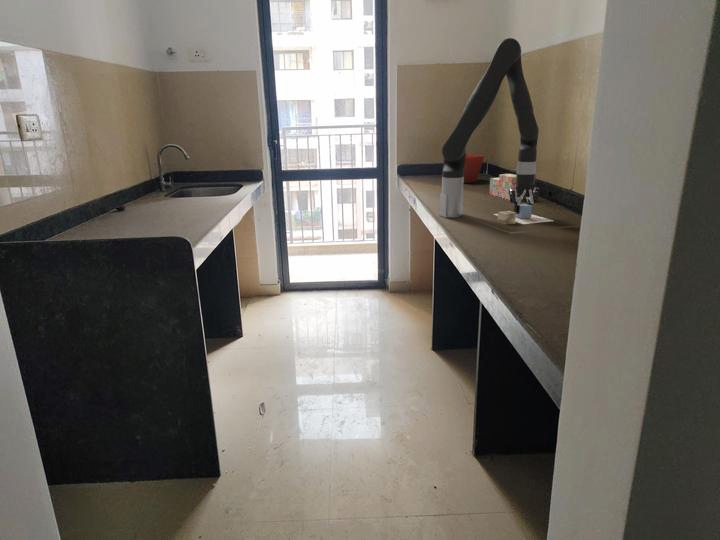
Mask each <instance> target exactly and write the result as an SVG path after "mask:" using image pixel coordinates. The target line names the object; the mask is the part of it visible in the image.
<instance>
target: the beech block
mask: <svg viewBox="0 0 720 540" xmlns="http://www.w3.org/2000/svg"><path fill="white" fill-rule="evenodd" d="M497 214H498V216H497V221H496V222H497V223H499V224H502V225H512V224H514V225H515V224H516V222H515V220H516V213H514V211H511V210H504V211H502V210H501V211H498V212H497Z"/></svg>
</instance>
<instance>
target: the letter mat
mask: <svg viewBox="0 0 720 540" xmlns="http://www.w3.org/2000/svg"><path fill="white" fill-rule="evenodd" d="M492 215H494V216H497V217H498V213H493V214H492ZM549 222H554V220H553V219H550V218H546V217H542V216H538V215H535V214H532V215H531V217H530V218H518V217H516V220H515V223H519V224H522V225H528V224H537V223H549Z"/></svg>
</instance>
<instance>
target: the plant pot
mask: <svg viewBox="0 0 720 540" xmlns="http://www.w3.org/2000/svg"><path fill="white" fill-rule="evenodd" d="M484 158H485V155H478V154H467V153H466V155H465V170H464V183H463V184H467V183H476V182H477V181H478V178H479V176H480V173H481V172H480V171H481V169H482V167H483V166H482V165H483V162H484Z"/></svg>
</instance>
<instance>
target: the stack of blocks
mask: <svg viewBox="0 0 720 540" xmlns="http://www.w3.org/2000/svg"><path fill="white" fill-rule="evenodd" d="M515 188H516V174H513V173H503V174H499V175H498V177H490V178H489V194H490V195H489V196H492V195H494V196H493V197H495V196H498V197H497V198H499V197H502V198H501V199H503V198H505V199H504V200H506V199H508V200H507V201H509V200H510V196H509V190H510V189H511V190H513V189H515ZM516 194H517V193H516ZM516 194H515V197H516Z"/></svg>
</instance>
